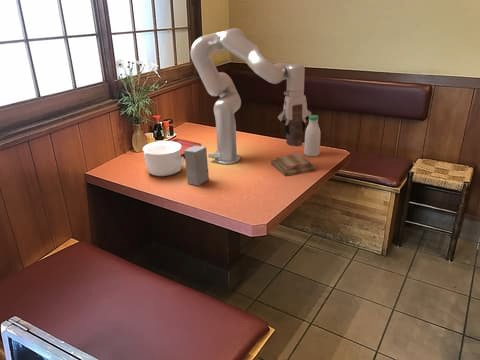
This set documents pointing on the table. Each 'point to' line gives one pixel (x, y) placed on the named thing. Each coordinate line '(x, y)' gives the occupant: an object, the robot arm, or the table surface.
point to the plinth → (292, 165)
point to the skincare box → (196, 165)
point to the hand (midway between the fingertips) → (294, 131)
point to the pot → (163, 157)
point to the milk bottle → (312, 137)
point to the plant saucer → (185, 145)
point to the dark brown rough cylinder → (295, 127)
